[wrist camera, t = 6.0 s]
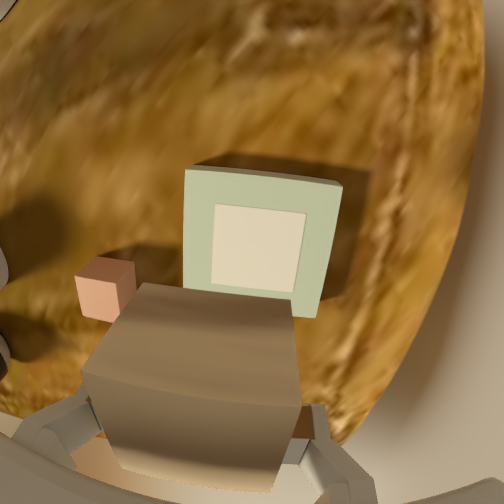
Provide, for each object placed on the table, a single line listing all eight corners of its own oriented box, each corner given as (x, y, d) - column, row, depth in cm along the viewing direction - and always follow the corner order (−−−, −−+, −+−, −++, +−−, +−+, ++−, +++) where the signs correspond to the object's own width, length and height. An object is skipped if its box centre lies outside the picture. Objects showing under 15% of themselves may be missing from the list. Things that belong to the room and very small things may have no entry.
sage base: (193, 164, 25) (185, 169, 22) (336, 180, 25) (343, 187, 22) (189, 289, 30) (183, 303, 27) (312, 303, 30) (315, 318, 27)
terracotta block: (96, 255, 29) (74, 276, 25) (134, 261, 29) (115, 283, 25) (101, 292, 31) (82, 315, 27) (138, 299, 31) (121, 324, 27)
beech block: (143, 282, 11) (80, 370, 6) (290, 299, 11) (302, 407, 6) (154, 383, 13) (122, 468, 8) (271, 399, 13) (269, 493, 8)
